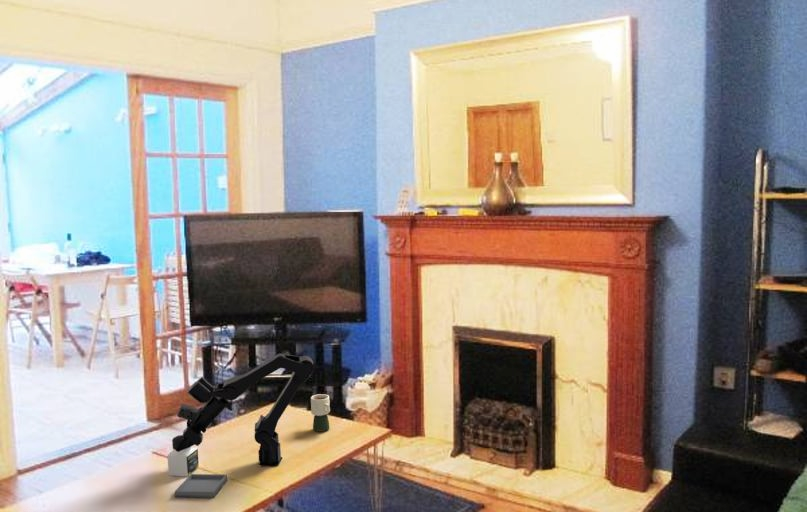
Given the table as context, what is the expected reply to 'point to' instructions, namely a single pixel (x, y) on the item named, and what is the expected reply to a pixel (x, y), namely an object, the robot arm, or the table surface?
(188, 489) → the tray
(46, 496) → the table surface
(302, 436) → the table surface
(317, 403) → the character mug
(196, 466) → the medicine bottle
